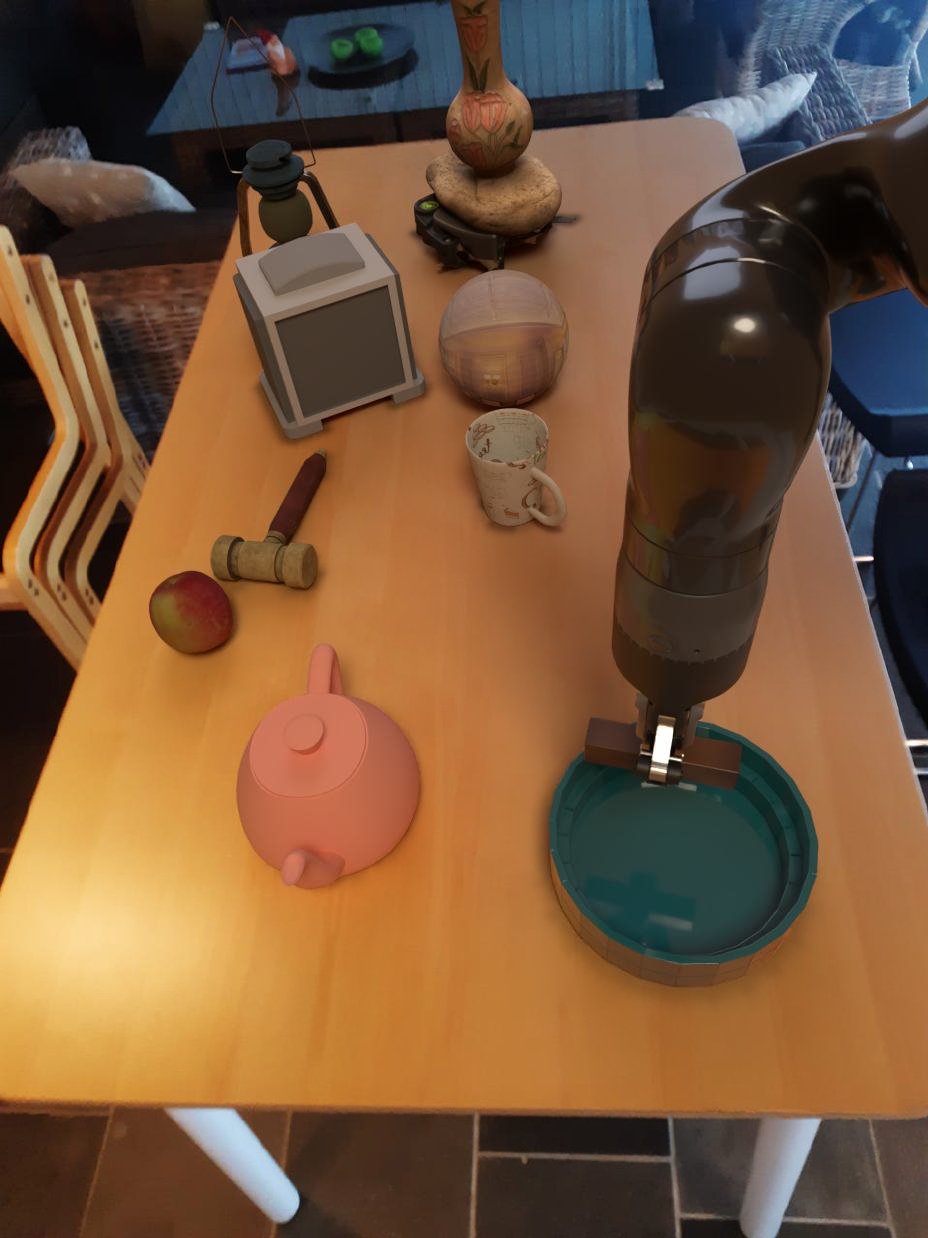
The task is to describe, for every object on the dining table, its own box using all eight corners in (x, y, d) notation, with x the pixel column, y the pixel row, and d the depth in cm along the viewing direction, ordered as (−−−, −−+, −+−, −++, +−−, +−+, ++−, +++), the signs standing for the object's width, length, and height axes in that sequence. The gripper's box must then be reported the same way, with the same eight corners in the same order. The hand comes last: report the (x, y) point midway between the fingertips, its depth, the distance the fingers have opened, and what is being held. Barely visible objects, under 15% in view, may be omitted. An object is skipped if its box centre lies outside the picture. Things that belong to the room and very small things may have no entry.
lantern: (361, 273, 127) (302, -11, 100) (353, 320, 120) (287, 29, 93) (266, 281, 129) (181, 3, 101) (252, 328, 121) (157, 43, 94)
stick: (736, 761, 59) (742, 744, 58) (733, 790, 58) (739, 773, 56) (590, 734, 62) (590, 716, 60) (583, 761, 61) (584, 743, 59)
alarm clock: (392, 338, 117) (366, 202, 102) (428, 392, 109) (406, 253, 94) (260, 382, 114) (214, 249, 99) (288, 442, 106) (242, 306, 91)
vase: (393, 279, 125) (342, -8, 98) (431, 200, 138) (395, -73, 111) (557, 285, 120) (552, -17, 93) (580, 202, 133) (581, -84, 106)
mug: (513, 469, 99) (507, 397, 91) (596, 523, 92) (598, 450, 85) (458, 508, 96) (448, 437, 88) (541, 567, 90) (537, 496, 82)
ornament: (592, 376, 107) (594, 262, 96) (524, 448, 101) (517, 335, 89) (492, 342, 114) (482, 231, 102) (422, 408, 107) (402, 297, 95)
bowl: (806, 778, 72) (822, 742, 68) (794, 1020, 62) (812, 996, 57) (576, 735, 77) (576, 699, 72) (526, 953, 66) (523, 926, 61)
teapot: (421, 938, 68) (395, 878, 58) (231, 947, 69) (174, 889, 59) (426, 697, 81) (405, 616, 72) (266, 708, 82) (225, 629, 73)
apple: (242, 599, 91) (217, 547, 85) (243, 661, 86) (216, 610, 80) (169, 613, 91) (139, 562, 85) (166, 677, 86) (133, 627, 80)
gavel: (279, 430, 102) (360, 436, 100) (288, 461, 105) (367, 468, 103) (204, 556, 89) (296, 566, 87) (217, 587, 92) (306, 597, 90)
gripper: (748, 724, 41) (705, 868, 55) (770, 516, 49) (727, 686, 63) (590, 695, 43) (586, 841, 57) (635, 499, 51) (622, 668, 65)
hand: (660, 759), depth 60 cm, fingers closed on stick, 2 cm apart
